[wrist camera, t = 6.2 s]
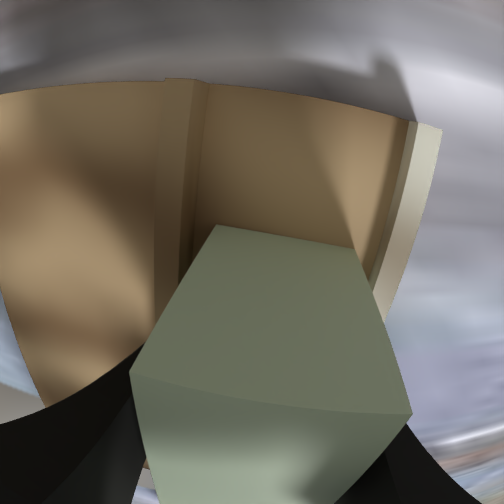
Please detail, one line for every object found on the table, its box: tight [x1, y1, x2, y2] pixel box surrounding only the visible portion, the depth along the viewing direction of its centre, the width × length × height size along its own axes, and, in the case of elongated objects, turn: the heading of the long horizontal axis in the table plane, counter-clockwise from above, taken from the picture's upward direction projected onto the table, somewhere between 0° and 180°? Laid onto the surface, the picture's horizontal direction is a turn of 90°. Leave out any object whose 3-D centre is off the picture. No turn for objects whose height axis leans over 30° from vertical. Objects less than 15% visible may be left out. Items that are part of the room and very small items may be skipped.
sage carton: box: [129, 224, 413, 504], centre depth 9 cm, size 7×5×6 cm, turn 172°
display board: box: [0, 78, 443, 470], centre depth 14 cm, size 24×18×3 cm
